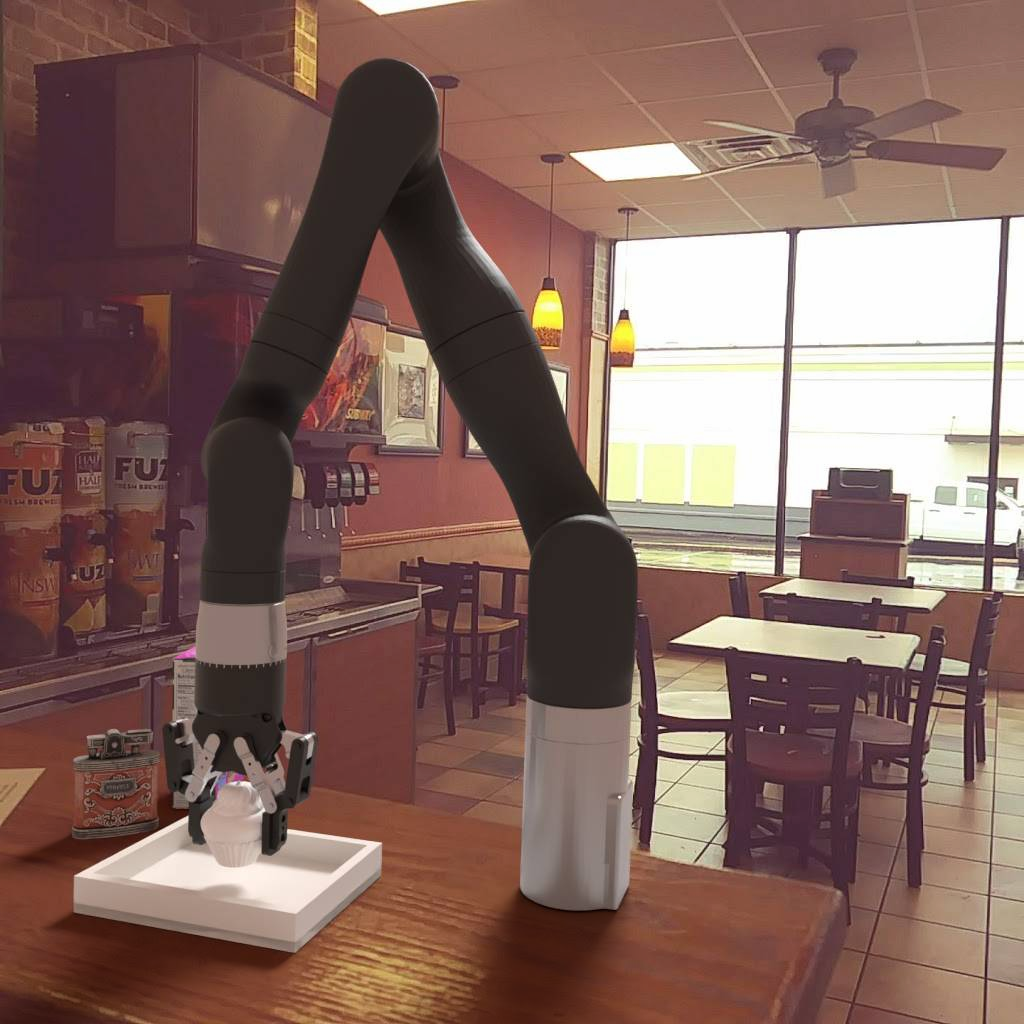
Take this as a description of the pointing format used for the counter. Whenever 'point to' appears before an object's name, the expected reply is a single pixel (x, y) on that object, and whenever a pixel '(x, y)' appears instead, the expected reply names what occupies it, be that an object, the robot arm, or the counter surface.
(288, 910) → the tray
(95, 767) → the lighter
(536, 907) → the counter surface
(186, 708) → the candy bar box
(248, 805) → the muffin
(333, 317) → the robot arm
